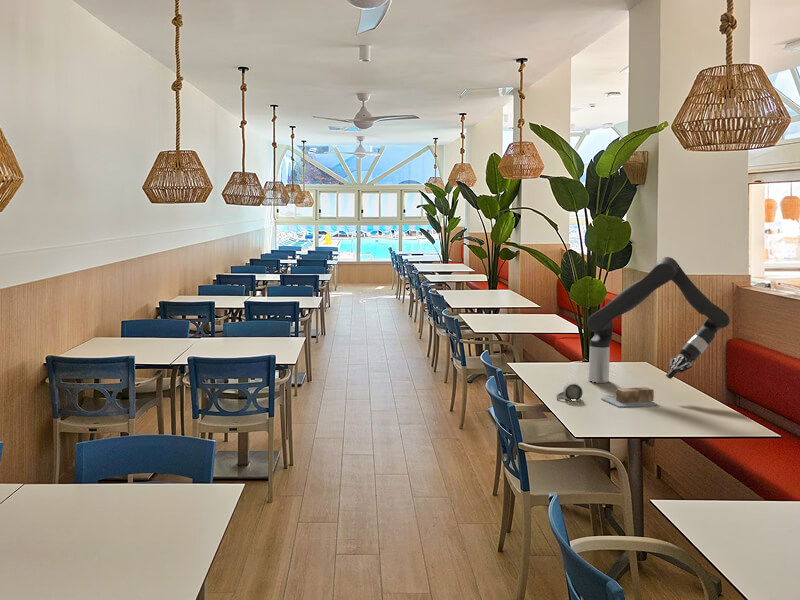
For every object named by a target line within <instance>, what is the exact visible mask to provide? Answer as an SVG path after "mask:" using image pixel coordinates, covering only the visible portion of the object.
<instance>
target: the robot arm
mask: <svg viewBox="0 0 800 600" xmlns="http://www.w3.org/2000/svg"><path fill="white" fill-rule="evenodd" d="M670 281H672V282H673V283H674V284H675V285H676V286H677V287H678V289H679V290H680V292H681V293H682V295H683V296H684V298H685V300H686V301H687V303H688V304H689V305H690V306H691V307H692V308H693V309H694V310H695V311H696V312H697V313H698V314H699V315H701V316H705V317H707V318H706V319H705V320H704V323H702V325H701V327H700V328H699V329H698V330H697V331H696V332H695V334H694V335H692V337H690V338H689V339H688V341H687V342H686V343H685V344H684V345H683V346H682V347H681V348H680V349H679V350H680V353H679V354H678V355H677V356H676V357H673V356H672V357H670V359H669V360H670V361H669V365H668V367H669V368H670V369H669V370H668V372H667V373H666V374H665V376H666V378H667V379H670V380H672V379H673V378H674V376H675V375H676V374H679V373H680V374H681V373H684V372H686V371H688V370H689V369H692V368H693V365H692V362H695V361H697V359H698V358H699V357H700V356H701V355H702V354H703V353H704V352H705V350H706V349H707V347H708V346H709V345H710V344H711V342H713V340H714V339H715V336H716V334H717V332H718V331H719V330H720V329H724V328H725V329H726V328H727V327H728V326H729V325H730V321H731V320H730V317H729V315H728V313H727V312H726V311H724V310H723V309H722V308H720V307H719V306H717V305H716V304H715V303H714V302H712V301H711V300H710V299H709V298H708V297H707V296H706V295H705V294H704V293H703V292H702V291H701V290H700V289H699V288H698V287H697V286H696V285H695V284H694V283H693V281H692V280H691V279H690V277H688V275H687V274H686V272H685V271H684V270H683V269H682V267H681V265H679V263H678V262H677V260H675V259H674V258H672V257H669V256H664V257H661V258H660V259H659V260H658V261H657V262H656V264H655V265H654V267H653V268H652V269H651V270H650V271H649V272H648V273H647V274H646V275H645V276H644V277H643V278H641V279H640V280H638V281H635V282H633V283H631V284H630V285H629V286H627V287H626V288H625V289H623V290H622V291H621V292H620V293H618V295H616V296H615V297H614V298H613V299H612V300H610V301H609V302H608V303H606V305H604V306H603V307H602V308H600V309H598V310H597V311H596V312H594V313H592V314H591V315H590V316H589V317H588V319H587V320H586V321H587V322H586V326H587V328H588V331H591V333H592V332H593V333H594V335H593V337H592V338H591V339H590V340H589V359H588V379H587V380H588V382H590V381H592V382H591V383H594V382H596V384H606V383H608V382H609V380H610V346H611V342H612V339H613V329H614V322H613V320H614V319H616V318H618V317H620V316H622V315H624V314H626V313H628V312H630V311H632V310H634V308H636V307H637V306H639V305H640V304H642V302H643V301H645V300H646V299H647V298H648V297H649V296H650V295H651V294H652V293H653V292H654V291H656V290H658V289H659V288H660V287H663V285H665V284H667V283H669V282H670Z"/></svg>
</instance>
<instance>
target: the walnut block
mask: <svg viewBox="0 0 800 600" xmlns="http://www.w3.org/2000/svg"><path fill="white" fill-rule="evenodd" d="M615 393H616V394H615V397H616V401H619V402H621V403H632V402H646V401H652V402H654V401H655V399H654V398H655V389H653V388H651V387H649V386H642V387H641V386H638V387H623V388H621V387H620V388H616V390H615Z"/></svg>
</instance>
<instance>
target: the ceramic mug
mask: <svg viewBox="0 0 800 600" xmlns="http://www.w3.org/2000/svg"><path fill="white" fill-rule="evenodd" d="M583 394H584V392H583V389H582V387H581V385H579V384H578V383H577V382H576V381H575V382H574V381H569V382H566V384H565V385H564V386H563V391H561V392H559V393H557V394H556V395H555V396H556V399H557V400H563V399H567V401H569V402H572V400H571V399H576V402H578V401H580V400H581V398H582V397H583V396H584V395H583Z"/></svg>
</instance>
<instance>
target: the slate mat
mask: <svg viewBox="0 0 800 600" xmlns="http://www.w3.org/2000/svg"><path fill="white" fill-rule="evenodd" d="M600 398H601V399H602V401H603V400H604V401H603V402H605V401H606V402H605V403H608V404H610V405H613V406H614V407H617V408H618V409H619V408H621V409H622V408H635V407H648V406H649V407H651V406H658V403H656V402H654V401H646V402H632V403H621V402H619V401H616V396H614V397H600ZM601 399H600V400H601Z"/></svg>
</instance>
